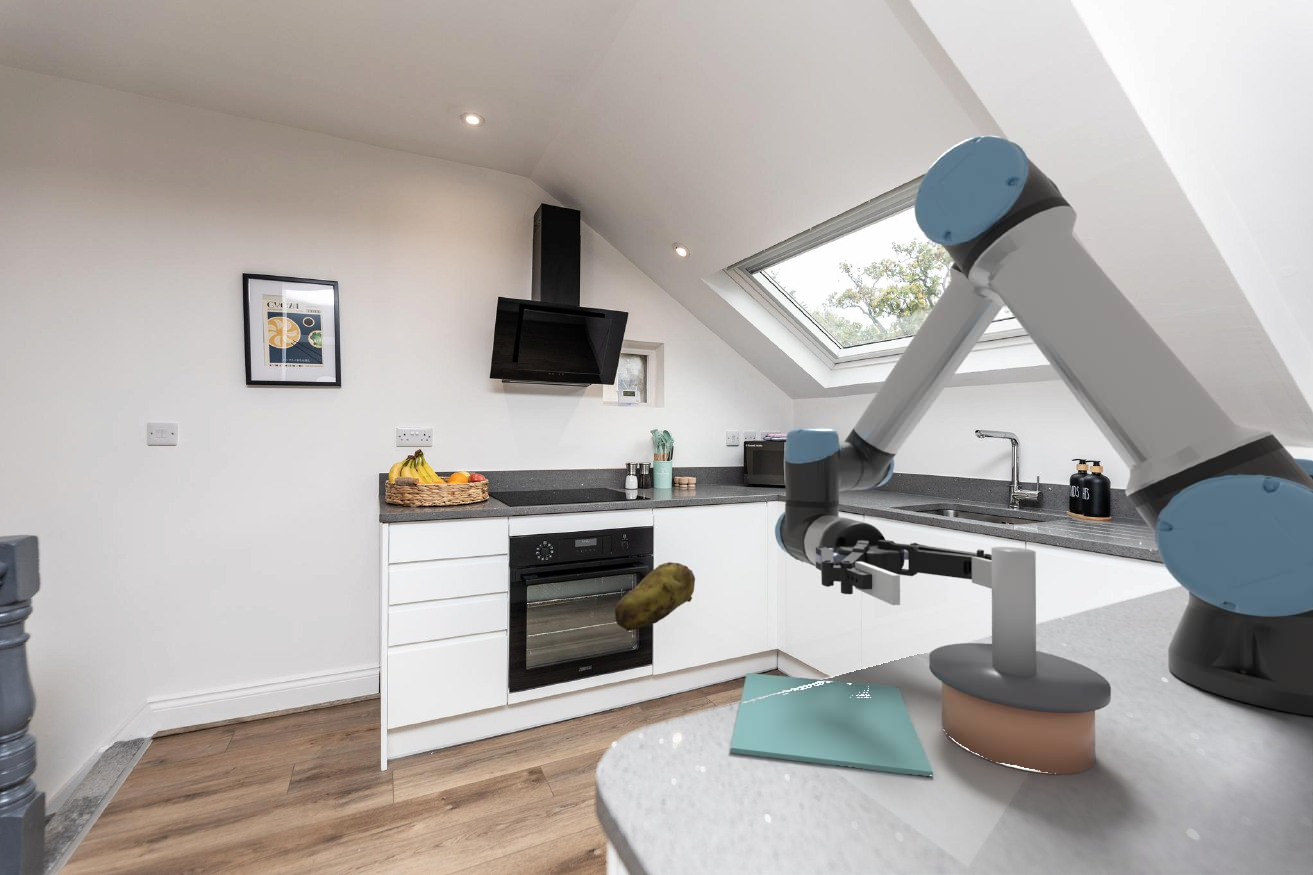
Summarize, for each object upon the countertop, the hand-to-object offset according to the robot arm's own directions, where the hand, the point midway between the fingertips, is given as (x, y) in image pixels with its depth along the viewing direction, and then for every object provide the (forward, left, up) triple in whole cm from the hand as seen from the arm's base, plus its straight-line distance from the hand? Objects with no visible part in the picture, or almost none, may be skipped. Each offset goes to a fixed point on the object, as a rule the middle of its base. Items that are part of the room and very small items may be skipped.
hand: (962, 586), depth 55 cm
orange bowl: (-3, +5, -11) cm, 13 cm away
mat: (+13, +5, -11) cm, 18 cm away
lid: (-3, +5, -6) cm, 9 cm away
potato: (+34, -19, -12) cm, 41 cm away
